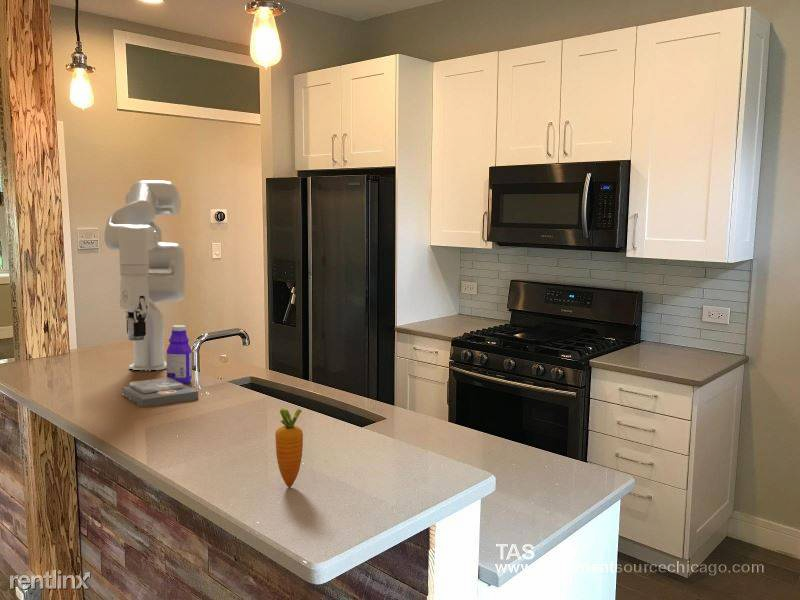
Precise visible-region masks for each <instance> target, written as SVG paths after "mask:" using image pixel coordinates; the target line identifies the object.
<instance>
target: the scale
mask: <svg viewBox="0 0 800 600" xmlns="http://www.w3.org/2000/svg"><path fill="white" fill-rule="evenodd" d="M175 381H176V380H175ZM177 382H178V381H177ZM179 383H180V382H179ZM181 384H182V383H181ZM122 394H124V395H125V396H127V397H128V398H130V399H131V401H132V400H133V401H134V402H133V401H132V402H133V403H135V402H136V403H137V405H138V404H139V405H138V406H139V407H141V408H142V409H144V408H149V407H150V408H151V407H155V406H161V405H162V406H163V405H169V404H175V403H181V402H182V403H183V402H187V401H188V402H189V401H193V400H194V401H196V400H198V399H199V390H196V389H195V388H192V387H190V386H188V385H186V384H183V388H179V389H172V390H161V391H158V392H151V393H144V394H143V393H141V392H140V391H138V390H136V389H134V388H133V387H131V386H130V385H128V386H122V387H121V395H122ZM125 396H124V397H125ZM127 397H126V398H127ZM128 398H127V399H128ZM130 399H129V400H130ZM136 403H135V404H136Z"/></svg>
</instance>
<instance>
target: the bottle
mask: <svg viewBox="0 0 800 600" xmlns="http://www.w3.org/2000/svg"><path fill="white" fill-rule="evenodd" d="M168 342H169V344H168V347H167V348H166V362H167V368H166V377H169V378H171V379H173V380H176V381H178V382H180V383H182V384H184V385H186V384H188V383H190V382H191V380H192V377H193V359H192V358H193V353H192V348H191V346H190V344H189V342H190V339H189V337H188V335H187V325H183V324H175V325H171V335H170V338H169V339H168Z"/></svg>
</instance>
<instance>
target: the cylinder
mask: <svg viewBox="0 0 800 600" xmlns="http://www.w3.org/2000/svg"><path fill="white" fill-rule="evenodd" d="M134 322H135V320H134V317H130V318H128V333H127V336H128V337H127V339H128V341H132V342H133V341H136V340H144V339H145V336H139V337H135V336H134V326H133V323H134Z"/></svg>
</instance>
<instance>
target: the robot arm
mask: <svg viewBox="0 0 800 600" xmlns="http://www.w3.org/2000/svg"><path fill="white" fill-rule="evenodd" d="M181 202H182V201H181V196H180V193H179V190H178V187H177V186H176V184H175V183H173V182H171V181H168V180H137V181H136V182H133V183H132V184H131V186H130V188H129V191H128V192H127V193H126V195H125V205H123V206H122V207H119V208H118V209H116V210H115V211H113V212H112V213H111V214H110V215H108V218H107V220H106V224H105V228H104V235H103V237H104V238H103V239H104V244H105V246H106V247H107V248H108V249H109V250H110V251H114V252H115V251H118V254H119V258H118V259H119V277H120V283H119V284H120V288H119V308H121V309H122V310H123V311H125V314H126V316H125V318H126V334H128V318H130V317H134V320H135V322H134V323H133V326H134V336H135V337H139V336H145V339H144V340H136V341H133V340H132V342H133V343H132V344H133V363H130V364H129V365H128V369H129V368H130V369H133V370H141V371H140V372H143V371H142V370H145V371H144V372H152V371H151V370H156V371H161V370H165V369H166V370H167V361H165V338H164V337H165V336H164V334H165V331H164V330H165V329H164V327H165V326H164V315H163V312H162V311H161V308H159V307H158V306H157V304H156V303H165V302H166V303H170V302H180V301H182V300H183V299H184V298H185V295H186V257H185V251H184V248H183V247H182V245H180V244H179V243H176V242H163V241H162V240H163V239H162V237H163V235H162V234H163V233H162V229H161V227H160V226H159V225H158V223H157V222H156V221H155V220H154V219H155V217H156V216H176V215H178V214H179V213H180V211H181V207H182V206H181V205H182V203H181ZM159 272H161V273H159ZM162 272H163V273H162ZM167 272H168V273H167ZM130 369H129V370H130ZM133 370H132V371H133ZM147 370H148V371H147Z"/></svg>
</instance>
